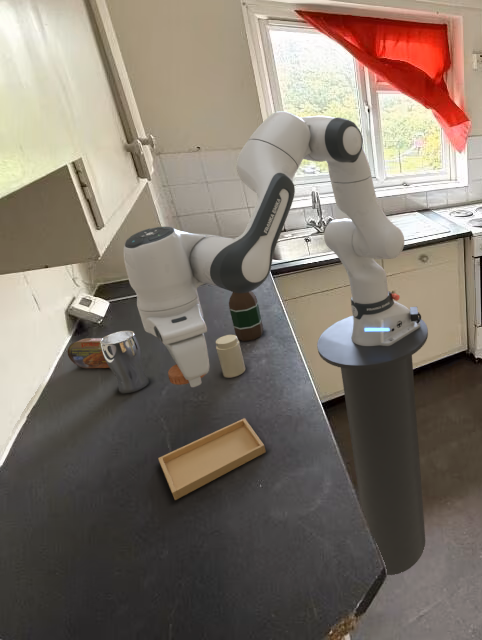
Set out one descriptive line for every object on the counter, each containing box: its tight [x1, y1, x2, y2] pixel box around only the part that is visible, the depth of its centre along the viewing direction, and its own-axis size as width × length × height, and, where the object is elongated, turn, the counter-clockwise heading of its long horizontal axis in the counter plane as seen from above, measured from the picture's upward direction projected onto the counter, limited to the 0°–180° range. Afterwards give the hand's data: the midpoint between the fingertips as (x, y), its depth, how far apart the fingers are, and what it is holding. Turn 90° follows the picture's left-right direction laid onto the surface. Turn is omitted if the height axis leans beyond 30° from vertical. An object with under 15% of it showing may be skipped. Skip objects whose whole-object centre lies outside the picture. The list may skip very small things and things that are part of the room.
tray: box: [157, 417, 267, 501], centre depth 90 cm, size 16×12×2 cm
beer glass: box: [100, 330, 150, 394], centre depth 109 cm, size 7×7×15 cm
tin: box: [67, 337, 110, 369], centre depth 119 cm, size 15×3×8 cm, turn 92°
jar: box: [215, 334, 247, 379], centre depth 117 cm, size 5×5×11 cm
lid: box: [167, 363, 207, 386], centre depth 83 cm, size 6×6×2 cm
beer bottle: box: [228, 290, 264, 342], centre depth 133 cm, size 8×8×24 cm
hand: (190, 376), depth 83 cm, fingers closed on lid, 6 cm apart
